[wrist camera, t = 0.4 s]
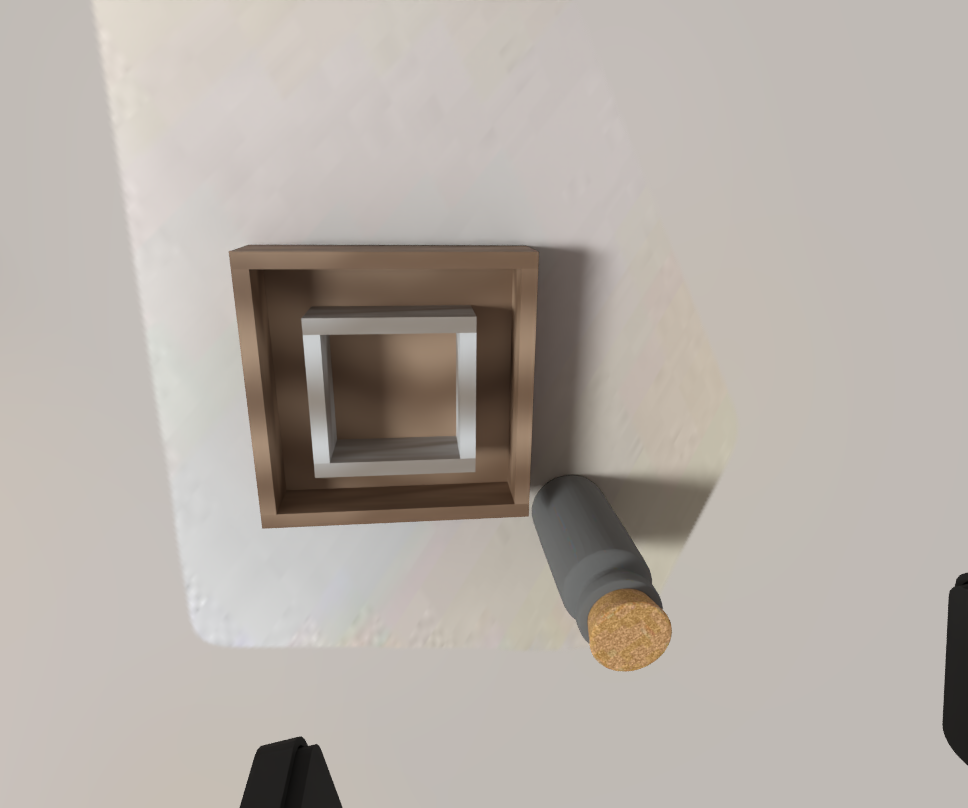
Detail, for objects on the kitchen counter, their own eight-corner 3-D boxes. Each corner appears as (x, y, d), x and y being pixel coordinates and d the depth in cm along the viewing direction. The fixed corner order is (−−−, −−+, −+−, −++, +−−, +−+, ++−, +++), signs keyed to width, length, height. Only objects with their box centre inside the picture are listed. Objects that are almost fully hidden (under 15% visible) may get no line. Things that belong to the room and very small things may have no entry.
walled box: (248, 245, 39) (226, 252, 35) (526, 245, 41) (540, 252, 37) (276, 497, 45) (260, 532, 41) (518, 487, 47) (529, 519, 43)
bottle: (520, 490, 47) (566, 617, 33) (591, 463, 47) (668, 579, 33) (544, 550, 49) (597, 694, 35) (612, 524, 49) (693, 658, 35)
